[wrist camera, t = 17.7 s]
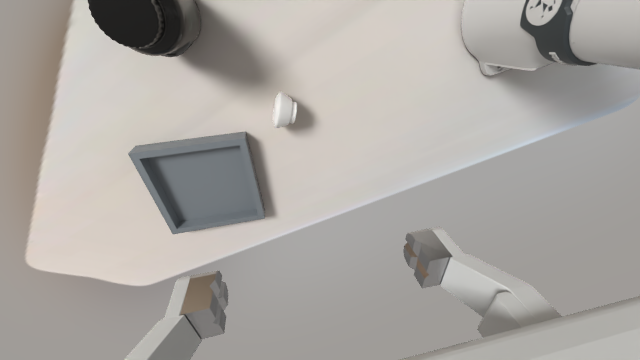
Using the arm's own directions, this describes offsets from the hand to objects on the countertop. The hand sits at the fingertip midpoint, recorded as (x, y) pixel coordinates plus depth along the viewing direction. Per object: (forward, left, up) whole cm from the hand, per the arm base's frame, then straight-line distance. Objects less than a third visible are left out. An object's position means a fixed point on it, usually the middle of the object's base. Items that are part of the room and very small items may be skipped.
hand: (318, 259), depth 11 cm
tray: (+14, +14, -31) cm, 37 cm away
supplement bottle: (+11, -10, -31) cm, 35 cm away
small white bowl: (0, +3, -31) cm, 32 cm away
